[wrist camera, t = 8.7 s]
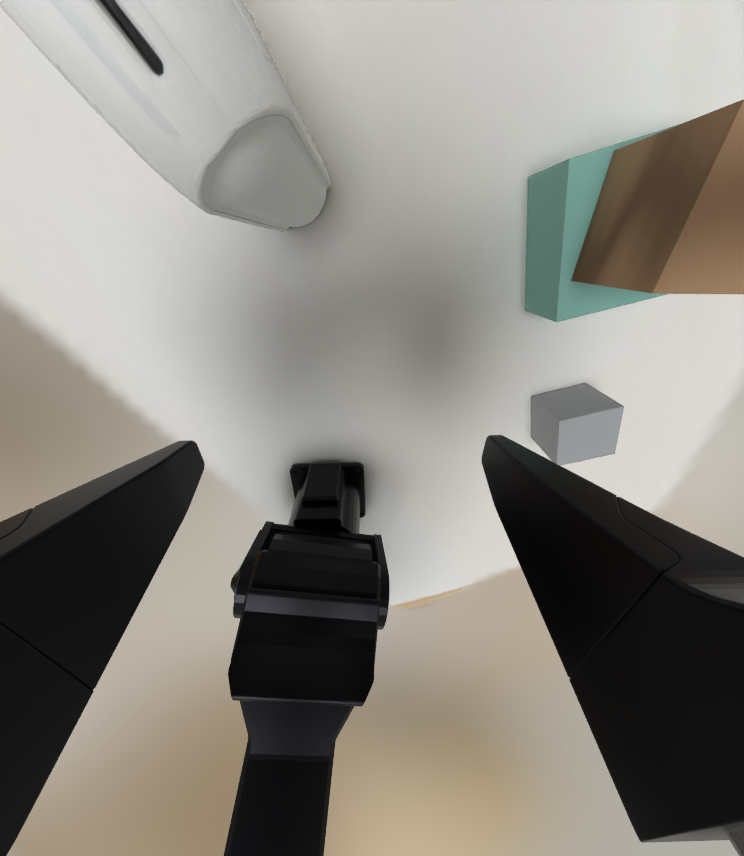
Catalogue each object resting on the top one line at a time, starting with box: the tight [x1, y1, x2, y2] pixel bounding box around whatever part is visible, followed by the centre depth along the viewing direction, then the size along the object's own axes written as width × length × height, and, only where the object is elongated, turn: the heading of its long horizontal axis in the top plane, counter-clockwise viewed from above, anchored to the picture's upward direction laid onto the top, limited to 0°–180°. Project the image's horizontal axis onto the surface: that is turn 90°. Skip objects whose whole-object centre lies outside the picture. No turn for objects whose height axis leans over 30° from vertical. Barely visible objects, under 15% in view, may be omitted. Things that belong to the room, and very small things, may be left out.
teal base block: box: [525, 125, 678, 322], centre depth 16 cm, size 7×7×4 cm
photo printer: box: [0, 0, 331, 232], centre depth 9 cm, size 10×4×12 cm, turn 36°
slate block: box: [531, 383, 624, 466], centre depth 22 cm, size 4×4×4 cm
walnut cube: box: [571, 100, 744, 294], centre depth 12 cm, size 5×5×5 cm
